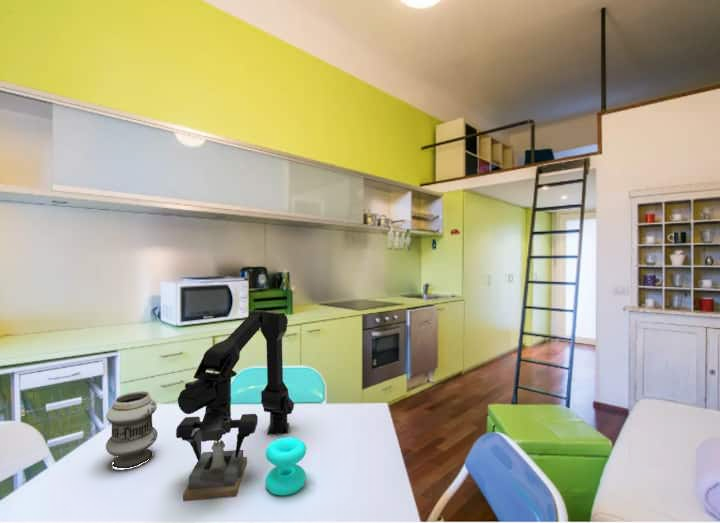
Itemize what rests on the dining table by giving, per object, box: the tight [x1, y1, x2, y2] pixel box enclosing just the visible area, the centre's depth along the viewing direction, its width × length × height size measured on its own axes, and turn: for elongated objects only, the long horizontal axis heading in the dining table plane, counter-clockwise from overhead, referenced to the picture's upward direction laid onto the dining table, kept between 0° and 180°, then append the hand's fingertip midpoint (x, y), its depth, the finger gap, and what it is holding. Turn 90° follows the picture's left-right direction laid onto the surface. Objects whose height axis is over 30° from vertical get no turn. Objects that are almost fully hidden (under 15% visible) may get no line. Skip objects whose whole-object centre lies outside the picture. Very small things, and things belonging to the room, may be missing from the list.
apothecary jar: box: [105, 390, 158, 468], centre depth 96 cm, size 12×12×18 cm
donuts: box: [264, 436, 307, 496], centre depth 86 cm, size 10×10×10 cm
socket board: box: [182, 449, 248, 502], centre depth 88 cm, size 14×12×4 cm
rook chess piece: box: [210, 439, 227, 469], centre depth 88 cm, size 4×4×8 cm
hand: (218, 458), depth 88 cm, fingers open, 9 cm apart
